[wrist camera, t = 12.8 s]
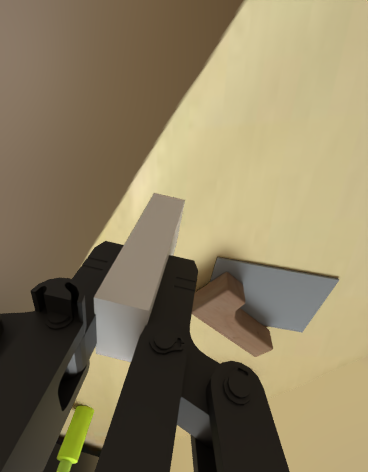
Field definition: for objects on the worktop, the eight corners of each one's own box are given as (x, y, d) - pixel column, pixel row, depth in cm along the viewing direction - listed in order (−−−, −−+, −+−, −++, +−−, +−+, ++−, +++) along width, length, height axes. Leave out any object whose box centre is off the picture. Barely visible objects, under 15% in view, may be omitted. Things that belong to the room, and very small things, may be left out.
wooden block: (228, 289, 41) (295, 341, 47) (226, 270, 45) (289, 320, 51) (189, 313, 45) (255, 358, 51) (191, 294, 49) (252, 338, 55)
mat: (338, 278, 44) (339, 280, 44) (301, 330, 53) (302, 332, 52) (217, 256, 44) (217, 258, 43) (200, 312, 52) (200, 314, 52)
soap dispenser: (71, 404, 84) (37, 488, 68) (92, 406, 83) (62, 491, 67) (75, 412, 87) (44, 494, 71) (95, 414, 87) (68, 497, 70)
